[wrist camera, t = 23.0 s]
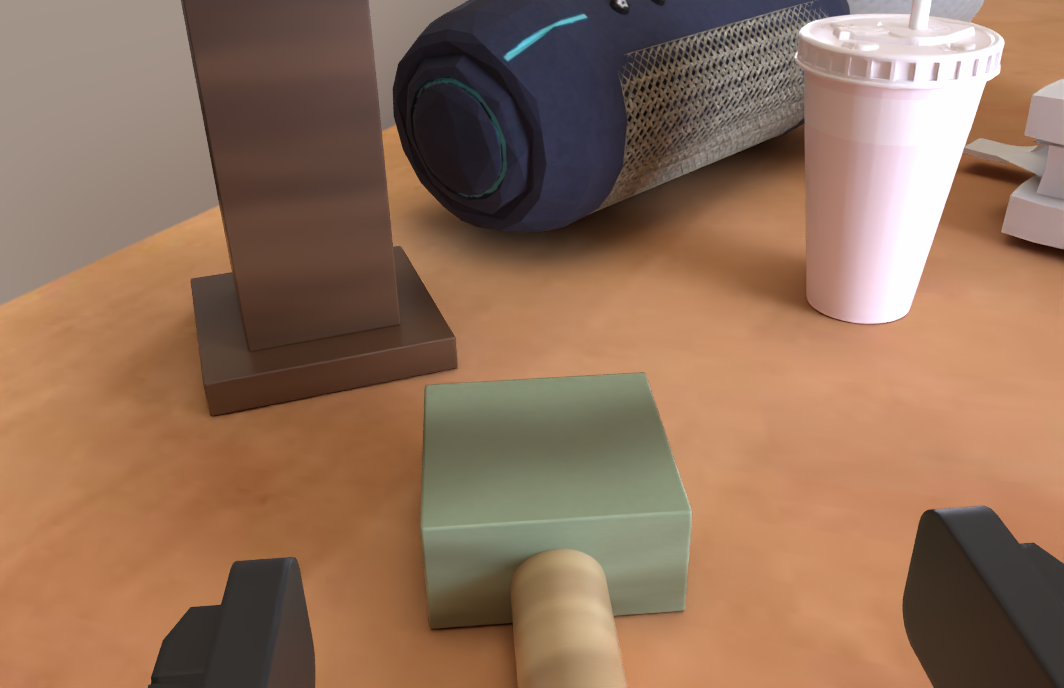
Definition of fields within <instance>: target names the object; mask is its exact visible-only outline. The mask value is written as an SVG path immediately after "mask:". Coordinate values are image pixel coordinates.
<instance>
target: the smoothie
mask: <svg viewBox="0 0 1064 688" xmlns="http://www.w3.org/2000/svg"><path fill="white" fill-rule="evenodd" d="M930 6H931V0H913V3H912V9H911V14H854V15H842V16H835V17H829V18H824V19H820V20H816V21H814V22H811V23H809V24H807V25H806V26H804V27H803V28H802V29H801V30H800V32H799V43H798V51H797V53H796V54H795V56H794V58H795V62H796V64H797V65H798V66H799V67H801V68H802V69H803V70H804V119H805V209H806V296H807V300H808V302H809V303H810V305H811V306H812V307H813V308H815V309H816V310H818V311H819V312H821V313H823V314H825V315H827V316H830V317H832V318H835V319H839V320H843V321H848V322H854V323H864V324H877V323H886V322H891V321H894V320H897V319H900V318H902V317H903V316H905V315H906V314H907V313H908V312H909V310H910V307H911V304H912V301H913V298H914V295H915V292H916V289H917V286H918V283H919V280H920V277H921V274H922V271H923V268H924V265H925V262H926V259H927V256H928V253H929V250H930V247H931V244H932V241H933V238H934V236H935V233H936V230H937V227H938V224H939V221H940V218H941V215H942V212H943V209H944V206H945V203H946V200H947V197H948V194H949V191H950V188H951V185H952V182H953V179H954V176H955V173H956V170H957V167H958V164H959V161H960V158H961V155H962V152H963V149H964V146H965V143H966V140H967V137H968V134H969V132H970V130H971V127H972V124H973V121H974V117H975V114H976V111H977V108H978V105H979V102H980V98H981V95H982V92H983V89H984V86H985V84H986V81H988V80H991V79H992V78H994V77H995V76H996V75H998V74H999V73H1000V67H1001V65H1000V60H1001V55H1002V50H1003V46H1004V40H1003V38H1002V37H1001V36H1000V35H999V34H998V33H996V32H995V31H993V30H991V29H988V28H986V27H983V26H980V25H977V24H974V23H969V22H965V21H960V20H955V19H949V18H942V17H934V16H929V12H930Z"/></svg>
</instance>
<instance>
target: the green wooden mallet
mask: <svg viewBox="0 0 1064 688" xmlns="http://www.w3.org/2000/svg"><path fill="white" fill-rule="evenodd" d="M691 523H692V510H691V507H690V504H689V501H688V498H687V495H686V492H685V489H684V486H683V483H682V480H681V477H680V474H679V471H678V468H677V465H676V462H675V459H674V456H673V453H672V450H671V447H670V444H669V441H668V439H667V436H666V433H665V430H664V427H663V424H662V421H661V418H660V415H659V412H658V409H657V406H656V403H655V400H654V397H653V394H652V391H651V388H650V385H649V382H648V379H647V376H646V374H645V373H643V372H641V373H623V374H606V375H589V376H571V377H554V378H537V379H519V380H502V381H485V382H467V383H450V384H433V385H426V386H425V393H424V422H423V451H422V480H421V510H420V537H421V547H422V557H423V568H424V578H425V588H426V598H427V608H428V618H429V626H430V628H432V629H435V628H449V627H463V626H477V625H491V624H505V623H513V635H514V647H515V660H516V673H517V685H518V688H628V686H627V681H626V676H625V671H624V666H623V661H622V656H621V651H620V646H619V641H618V636H617V631H616V626H615V621H614V616H618V615H632V614H646V613H660V612H674V611H683V610H684V609H685V604H686V591H687V577H688V564H689V550H690V537H691Z"/></svg>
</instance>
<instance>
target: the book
mask: <svg viewBox="0 0 1064 688" xmlns="http://www.w3.org/2000/svg"><path fill="white" fill-rule="evenodd" d="M1024 136H1028V137H1032V138H1036V139H1037V140H1036V141H1034V142H1037V143H1040V144H1039V145H1036V146H1030V147H1022V146H1013V145H1007V144H1003V143H999V142H995V141H991V140H987V139H983V138H979V139H977V140H976V141H974V142H972V143H970V144H968V145H966V146H965V147H964V149H963V152H962V153H963V154H967V155H970V156H974V157H978V158H981V159H985V160H990V161H995V162H1001V163H1013V164H1015V165H1017V166H1020V167H1022V168H1024V169H1026V170H1028V171H1030V172H1032V173H1035V174H1036V175H1034V176H1033V177H1031V178H1030V179H1028V180H1027V181H1025V182H1024V183H1022V184H1021V185H1020V186H1019V187H1018V188H1017V189H1016V190H1015V191H1014V192H1013V193H1012V194H1011V195H1010V199H1009V203H1008V207H1007V211H1006V214H1005V218H1004V222H1003V226H1002V230H1001V232H1002V233H1006V234H1009V235H1012V236H1015V237H1018V238H1021V239H1025V240H1028V241H1031V242H1034V243H1038V244H1042V245H1047V246H1051V247H1056V248H1060V249H1064V79H1061V80H1059V81H1056V82H1054V83H1052V84H1049V85H1047V86H1045V87H1044V88H1042V89H1041V90H1039V91H1037V92H1036V93H1034V94H1033V95H1032V98H1031V103H1030V108H1029V113H1028V118H1027V123H1026V128H1025V133H1024Z"/></svg>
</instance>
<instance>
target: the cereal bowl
mask: <svg viewBox="0 0 1064 688" xmlns="http://www.w3.org/2000/svg"><path fill="white" fill-rule="evenodd" d="M984 1H985V0H931V6H930V12H929V16H934V17H942V18H949V19H955V20H960V21H965V22H971V20H972V19H973V17H974V16H975V15H976V14H977V13H978V11H979V10H980V9H981V7H982V4H983V3H984ZM847 2H848V4H849V7H850V15H854V14H911V9H912V3H913V0H847Z"/></svg>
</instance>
